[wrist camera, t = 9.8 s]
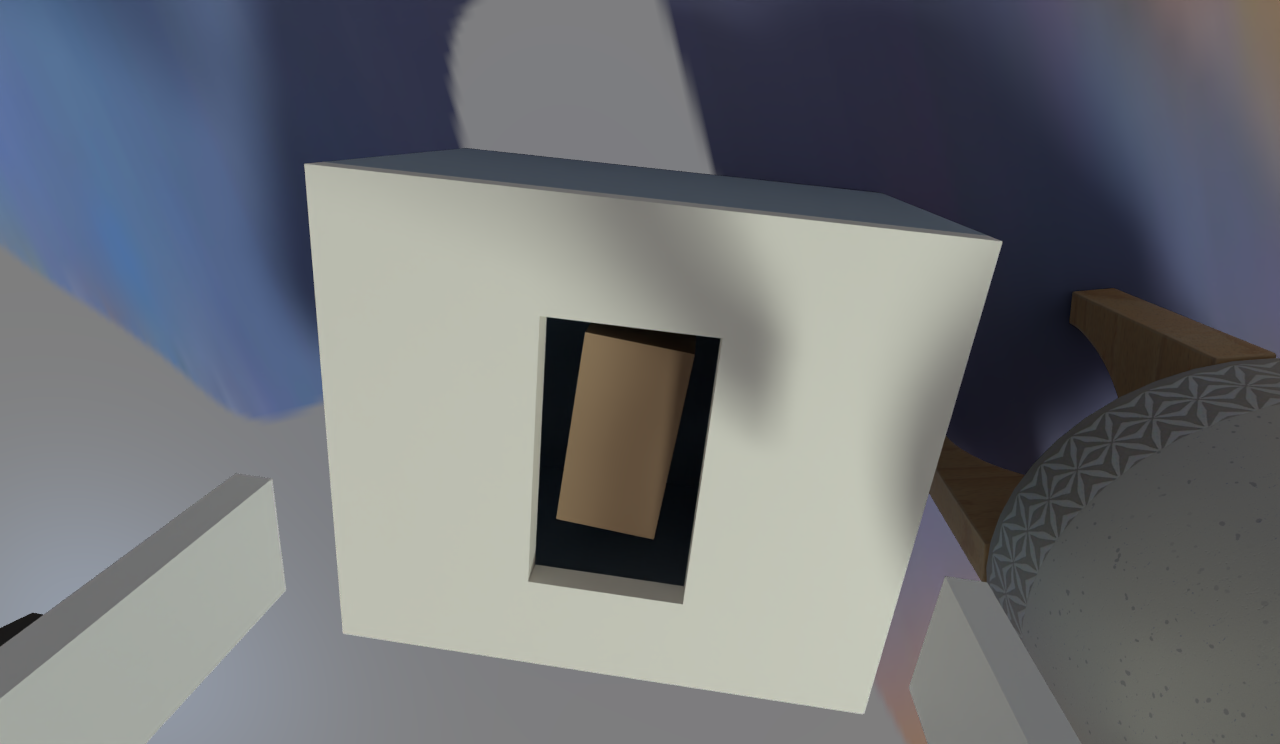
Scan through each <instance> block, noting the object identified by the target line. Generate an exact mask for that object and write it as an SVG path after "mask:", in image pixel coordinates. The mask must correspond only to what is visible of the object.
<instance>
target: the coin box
mask: <svg viewBox="0 0 1280 744" xmlns="http://www.w3.org/2000/svg"><path fill="white" fill-rule="evenodd" d="M304 168H305V180H306V192H307V204H308V216H309V228H310V240H311V252H312V265H313V277H314V289H315V301H316V313H317V325H318V337H319V349H320V361H321V374H322V386H323V398H324V410H325V422H326V434H327V446H328V457H329V470H330V483H331V495H332V507H333V519H334V531H335V543H336V555H337V567H338V578H339V592H340V604H341V615H342V628H343V634H349V635H355V636H361V637H369V638H375V639H381V640H388V641H394V642H400V643H407V644H413V645H420V646H426V647H433V648H439V649H445V650H452V651H459V652H465V653H471V654H478V655H484V656H491V657H497V658H504V659H510V660H517V661H523V662H529V663H536V664H543V665H549V666H555V667H562V668H568V669H574V670H581V671H587V672H594V673H600V674H607V675H613V676H620V677H627V678H633V679H639V680H646V681H653V682H658V683H665V684H672V685H678V686H685V687H691V688H698V689H704V690H710V691H717V692H723V693H730V694H736V695H742V696H749V697H755V698H762V699H769V700H775V701H782V702H788V703H794V704H801V705H807V706H813V707H820V708H826V709H833V710H839V711H846V712H852V713H859V714H864V712H865V709H866V706H867V702H868V699H869V695H870V692H871V689H872V685H873V682H874V678H875V675H876V672H877V668H878V665H879V661H880V658H881V655H882V651H883V648H884V644H885V641H886V637H887V634H888V631H889V627H890V624H891V620H892V617H893V614H894V610H895V607H896V603H897V600H898V597H899V593H900V590H901V586H902V583H903V580H904V576H905V573H906V569H907V566H908V562H909V559H910V556H911V552H912V549H913V545H914V542H915V539H916V535H917V532H918V528H919V525H920V522H921V518H922V515H923V511H924V508H925V505H926V501H927V498H928V494H929V491H930V487H931V484H932V481H933V477H934V474H935V470H936V467H937V464H938V460H939V457H940V453H941V450H942V447H943V443H944V440H945V436H946V433H947V430H948V426H949V423H950V419H951V416H952V413H953V409H954V406H955V402H956V399H957V395H958V392H959V389H960V385H961V382H962V378H963V375H964V372H965V368H966V365H967V361H968V358H969V355H970V351H971V348H972V344H973V341H974V338H975V334H976V331H977V327H978V324H979V320H980V317H981V314H982V310H983V307H984V303H985V300H986V297H987V293H988V290H989V286H990V283H991V280H992V276H993V273H994V269H995V266H996V263H997V259H998V256H999V252H1000V249H1001V245H1002V242H1003V241H1000V240H998V239H995V238H993V237H990V236H988V235H985V234H983V233H980V232H978V231H975V230H973V229H970V228H968V227H965V226H963V225H960V224H958V223H955V222H953V221H950V220H948V219H945V218H943V217H940V216H938V215H935V214H933V213H930V212H928V211H925V210H923V209H920V208H918V207H915V206H913V205H910V204H908V203H905V202H903V201H900V200H898V199H895V198H893V197H890V196H888V195H885V194H883V193H876V192H867V191H858V190H849V189H839V188H830V187H821V186H812V185H802V184H793V183H784V182H775V181H765V180H756V179H747V178H738V177H728V176H719V175H710V174H700V173H691V172H682V171H673V170H663V169H655V168H644V167H636V166H627V165H618V164H608V163H598V162H590V161H581V160H571V159H562V158H553V157H542V156H534V155H525V154H516V153H506V152H497V151H487V150H478V149H470V148H462V149H452V150H442V151H431V152H421V153H410V154H400V155H390V156H379V157H369V158H358V159H348V160H338V161H327V162H317V163H306V164H304ZM591 322H592V323H600V324H608V325H616V326H624V327H632V328H641V329H649V330H657V331H665V332H673V333H681V334H689V335H696V346H695V356H694V361H693V365H692V370H691V374H690V379H689V383H688V388H687V392H686V397H685V401H684V406H683V410H682V415H681V419H680V424H679V428H678V433H677V437H676V442H675V446H674V451H673V455H672V460H671V464H670V469H669V473H668V478H667V482H666V487H665V491H664V496H663V500H662V505H661V509H660V514H659V518H658V522H657V527H656V531H655V536H654V540H653V539H649V538H644V537H639V536H635V535H630V534H625V533H620V532H616V531H611V530H606V529H602V528H597V527H592V526H587V525H583V524H578V523H573V522H568V521H564V520H559V519H556V516H557V510H558V503H559V497H560V491H561V484H562V478H563V471H564V465H565V458H566V452H567V446H568V439H569V433H570V426H571V420H572V413H573V407H574V401H575V394H576V388H577V381H578V375H579V368H580V362H581V355H582V349H583V343H584V336H585V332H586V330H587V328H588V327H589V325H590V323H591Z"/></svg>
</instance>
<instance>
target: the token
mask: <svg viewBox="0 0 1280 744" xmlns="http://www.w3.org/2000/svg"><path fill="white" fill-rule="evenodd" d="M695 346H696V335H689V334H681V333H673V332H665V331H657V330H649V329H641V328H632V327H624V326H616V325H608V324H600V323H592V322H591V323H590V325H589V327H588V328H587V330H586V332H585V336H584V343H583V349H582V355H581V362H580V368H579V375H578V381H577V388H576V394H575V401H574V407H573V413H572V420H571V426H570V433H569V439H568V446H567V452H566V458H565V465H564V471H563V478H562V484H561V491H560V497H559V503H558V510H557V516H556V519H559V520H564V521H568V522H573V523H578V524H583V525H587V526H592V527H597V528H602V529H606V530H611V531H616V532H620V533H625V534H630V535H635V536H639V537H644V538H649V539H653V540H654V536H655V531H656V527H657V522H658V518H659V514H660V509H661V505H662V500H663V496H664V491H665V487H666V482H667V478H668V473H669V469H670V464H671V460H672V455H673V451H674V446H675V442H676V437H677V433H678V428H679V424H680V419H681V415H682V410H683V406H684V401H685V397H686V392H687V388H688V383H689V379H690V374H691V370H692V365H693V361H694V356H695Z"/></svg>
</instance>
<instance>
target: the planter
mask: <svg viewBox="0 0 1280 744" xmlns="http://www.w3.org/2000/svg"><path fill="white" fill-rule="evenodd" d="M1069 322H1070V324H1072V325H1073V326H1075V327H1077V328H1078V329H1079V330H1080V331H1081V332H1082V333H1083V334H1084V335H1085V336H1086V337H1087V338H1088V340H1089V341H1090V342H1091V343H1092V345H1093V346H1094V347H1095V349H1096V350H1097V352H1098V353H1099V355H1100V357H1101V358H1102V360H1103V362H1104V364H1105V366H1106V368H1107V370H1108V372H1109V374H1110V376H1111V379H1112V381H1113V384H1114V387H1115V389H1116V392H1117V395H1118V399H1116V400H1114V401H1113V402H1111V403H1109V404H1108V405H1106V406H1104V407H1103V408H1101V409H1099V410H1098V411H1096V412H1094V413H1093V414H1091V415H1089V416H1088V417H1086V418H1085V419H1083V420H1082V421H1081V422H1080V423H1078V424H1077V425H1076V426H1074V427H1073V428H1072V429H1071V430H1069V431H1068V432H1067V433H1065V434H1064V435H1063V436H1062V437H1060V438H1059V439H1058V440H1057V441H1056V442H1055V443H1054V444H1053V445H1052V446H1051V447H1050V448H1049V449H1048V450H1047V451H1046V452H1045V453H1044V454H1043V455H1042V456H1041V457H1040V458H1039V459H1038V460H1037V461H1036V462H1035V463H1034V464H1033V465H1032V466H1031V468H1030V469H1029V470H1028V472H1027V473H1026V474H1025V475H1023V474H1020V473H1016V472H1013V471H1010V470H1007V469H1003V468H1001V467H998V466H995V465H993V464H990V463H987V462H985V461H983V460H981V459H979V458H977V457H975V456H973V455H971V454H969V453H967V452H966V451H964V450H962V449H961V448H959V447H958V446H957V445H955V444H954V443H953V442H951V441H950V440H949V438H948V437H947V436H945V440H944V443H943V447H942V450H941V453H940V457H939V460H938V464H937V467H936V470H935V474H934V477H933V481H932V484H931V487H930V491H929V494H930V495H931V497H932V499H933V500H934V502H935V504H936V506H937V507H938V509H939V511H940V512H941V514H942V516H943V517H944V519H945V521H946V522H947V524H948V526H949V527H950V529H951V531H952V533H953V534H954V536H955V538H956V539H957V541H958V543H959V544H960V546H961V548H962V549H963V551H964V553H965V554H966V556H967V558H968V560H969V561H970V563H971V565H972V566H973V568H974V570H975V571H976V573H977V575H978V576H979V578H980V580H981V581H982V582H987V583H988V585H989V586H990V588H991V590H992V591H993V593H994V595H995V596H996V598H997V600H998V602H999V603H1000V605H1001V607H1002V608H1003V610H1004V612H1005V614H1006V615H1007V617H1008V619H1009V620H1010V622H1011V624H1012V626H1013V627H1014V629H1015V631H1016V632H1017V634H1018V636H1019V638H1020V639H1021V641H1022V643H1023V644H1024V646H1025V648H1026V650H1027V651H1028V653H1029V655H1030V656H1031V658H1032V660H1033V662H1034V663H1035V665H1036V667H1037V668H1038V670H1039V672H1040V673H1041V675H1042V677H1043V679H1044V680H1045V682H1046V684H1047V685H1048V687H1049V689H1050V691H1051V692H1052V694H1053V696H1054V697H1055V699H1056V701H1057V703H1058V704H1059V706H1060V708H1061V709H1062V711H1063V713H1064V715H1065V716H1066V718H1067V720H1068V721H1069V723H1070V725H1071V727H1072V728H1073V730H1074V732H1075V733H1076V735H1077V737H1078V738H1079V740H1080V742H1081V744H1280V359H1279V358H1276V354H1275V353H1273V352H1271V351H1268V350H1266V349H1263V348H1261V347H1258V346H1256V345H1253V344H1251V343H1248V342H1246V341H1243V340H1241V339H1238V338H1236V337H1234V336H1231V335H1229V334H1226V333H1224V332H1221V331H1219V330H1216V329H1214V328H1211V327H1209V326H1206V325H1204V324H1201V323H1199V322H1196V321H1194V320H1192V319H1189V318H1187V317H1184V316H1182V315H1179V314H1177V313H1174V312H1172V311H1169V310H1167V309H1164V308H1162V307H1159V306H1157V305H1155V304H1152V303H1150V302H1147V301H1145V300H1142V299H1140V298H1137V297H1135V296H1132V295H1130V294H1127V293H1125V292H1122V291H1120V290H1117V289H1115V288H1109V289H1097V290H1086V291H1075V292H1073V293H1072V301H1071V311H1070V321H1069Z"/></svg>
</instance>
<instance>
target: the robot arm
mask: <svg viewBox="0 0 1280 744" xmlns="http://www.w3.org/2000/svg"><path fill="white" fill-rule="evenodd" d="M285 591H286V585H285V577H284V569H283V562H282V553H281V546H280V537H279V529H278V521H277V513H276V505H275V497H274V489H273V481H272V478H265V477H258V476H251V475H244V474H237V473H235V474H234V475H233V476H231V477H230V478H229V479H227V480H226V481H224V482H223V483H222V484H220V485H219V486H218V487H217V488H215V489H214V490H212V491H211V492H210V493H208V494H207V495H205V496H204V497H203V498H201V499H200V500H199V501H197V502H196V503H195V504H193V505H192V506H191V507H189V508H188V509H186V510H185V511H184V512H182V513H181V514H180V515H178V516H177V517H176V518H174V519H173V520H172V521H170V522H169V523H168V524H166V525H165V526H163V527H162V528H161V529H159V530H158V531H157V532H156V533H154V534H153V535H151V536H150V537H148V538H147V539H146V540H145V541H143V542H142V543H141V544H139V545H138V546H136V547H135V548H134V549H132V550H131V551H130V552H128V553H127V554H126V555H124V556H123V557H121V558H120V559H119V560H117V561H116V562H115V563H113V564H112V565H111V566H109V567H108V568H107V569H105V570H104V571H102V572H101V573H100V574H98V575H97V576H96V577H94V578H93V579H91V580H90V581H89V582H87V583H86V584H85V585H83V586H82V587H81V588H79V589H78V590H77V591H75V592H74V593H72V594H71V595H70V596H68V597H67V598H66V599H64V600H63V601H62V602H60V603H59V604H58V605H56V606H55V607H53V608H52V609H51V610H49V611H48V612H47V613H45V614H44V615H43V614H37V613H31V614H29V615H27V616H25V617H23V618H20V619H18V620H16V621H14V622H12V623H10V624H8V625H6V626H4V627H2V628H0V744H146V743H147V742H148V741H149V740H150V739H151V737H152V736H153V735H154V734H155V733H156V732H157V731H158V730H159V729H160V728H161V727H162V726H163V724H164V723H165V722H166V721H167V720H168V719H169V718H170V717H171V716H172V714H173V713H174V712H175V711H176V710H177V709H178V708H179V707H180V706H181V705H182V703H183V702H184V701H185V700H186V699H187V698H188V697H189V696H190V695H191V694H192V693H193V692H194V690H195V689H196V688H197V687H198V686H199V685H200V684H201V683H202V682H203V681H204V680H205V678H206V677H207V676H208V675H209V674H210V673H211V672H212V671H213V669H214V668H215V667H216V666H217V665H218V664H219V663H220V662H221V661H222V660H223V659H224V658H225V656H226V655H227V654H228V653H229V652H230V651H231V650H232V649H233V648H234V647H235V646H236V644H237V643H238V642H239V641H240V640H241V639H242V638H243V637H244V636H245V635H246V634H247V632H248V631H249V630H250V629H251V628H252V627H253V626H254V624H256V623H257V621H258V620H259V619H260V618H261V617H262V616H263V615H264V614H265V613H266V612H267V611H268V609H269V608H270V607H271V606H272V605H273V604H274V603H275V602H276V601H277V599H278V598H279V597H280V596H281V595H282V594H283V593H284V592H285ZM909 690H910V693H911V696H912V698H913V701H914V704H915V707H916V710H917V713H918V716H919V719H920V722H921V725H922V728H923V731H924V734H925V737H926V740H927V743H928V744H1081V742H1080V740H1079V738H1078V737H1077V735H1076V733H1075V732H1074V730H1073V728H1072V727H1071V725H1070V723H1069V721H1068V720H1067V718H1066V716H1065V715H1064V713H1063V711H1062V709H1061V708H1060V706H1059V704H1058V703H1057V701H1056V699H1055V697H1054V696H1053V694H1052V692H1051V691H1050V689H1049V687H1048V685H1047V684H1046V682H1045V680H1044V679H1043V677H1042V675H1041V673H1040V672H1039V670H1038V668H1037V667H1036V665H1035V663H1034V662H1033V660H1032V658H1031V656H1030V655H1029V653H1028V651H1027V650H1026V648H1025V646H1024V644H1023V643H1022V641H1021V639H1020V638H1019V636H1018V634H1017V632H1016V631H1015V629H1014V627H1013V626H1012V624H1011V622H1010V620H1009V619H1008V617H1007V615H1006V614H1005V612H1004V610H1003V608H1002V607H1001V605H1000V603H999V602H998V600H997V598H996V596H995V595H994V593H993V591H992V590H991V588H990V586H989V585H988V583H987V582H980V581H974V580H967V579H960V578H953V577H946V576H945V578H944V581H943V584H942V588H941V591H940V594H939V597H938V600H937V603H936V606H935V609H934V612H933V615H932V618H931V621H930V624H929V627H928V631H927V634H926V637H925V640H924V643H923V646H922V649H921V652H920V655H919V658H918V661H917V664H916V667H915V670H914V673H913V677H912V680H911V683H910V686H909Z"/></svg>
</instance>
